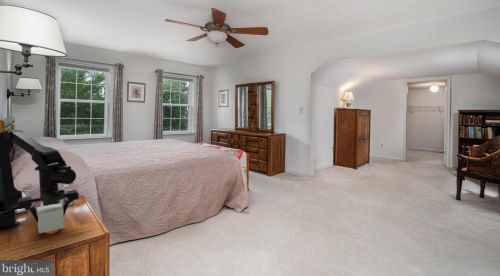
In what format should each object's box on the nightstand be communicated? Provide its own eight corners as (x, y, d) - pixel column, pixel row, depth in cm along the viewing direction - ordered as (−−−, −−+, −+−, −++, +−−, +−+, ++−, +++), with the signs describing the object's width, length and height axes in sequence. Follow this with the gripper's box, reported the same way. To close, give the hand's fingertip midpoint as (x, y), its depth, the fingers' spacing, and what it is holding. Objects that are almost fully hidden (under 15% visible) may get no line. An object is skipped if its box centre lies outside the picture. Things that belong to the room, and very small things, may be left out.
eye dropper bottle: (60, 205, 130) (59, 182, 129) (73, 202, 134) (72, 181, 133) (61, 207, 127) (60, 184, 126) (74, 205, 131) (73, 182, 130)
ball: (41, 228, 97) (41, 235, 99) (56, 229, 98) (56, 237, 101) (47, 217, 101) (47, 225, 103) (62, 219, 103) (61, 226, 105)
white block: (37, 225, 101) (37, 207, 100) (61, 220, 106) (60, 203, 105) (39, 233, 95) (38, 214, 95) (63, 227, 101) (63, 209, 100)
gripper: (16, 191, 86) (19, 234, 88) (80, 182, 99) (82, 220, 101) (16, 183, 94) (19, 223, 96) (76, 176, 107) (77, 211, 109)
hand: (50, 219), depth 100 cm, fingers closed on white block, 8 cm apart
